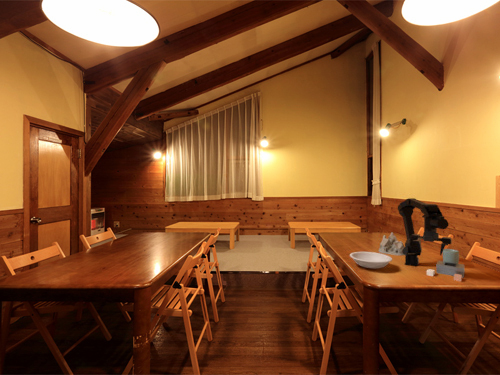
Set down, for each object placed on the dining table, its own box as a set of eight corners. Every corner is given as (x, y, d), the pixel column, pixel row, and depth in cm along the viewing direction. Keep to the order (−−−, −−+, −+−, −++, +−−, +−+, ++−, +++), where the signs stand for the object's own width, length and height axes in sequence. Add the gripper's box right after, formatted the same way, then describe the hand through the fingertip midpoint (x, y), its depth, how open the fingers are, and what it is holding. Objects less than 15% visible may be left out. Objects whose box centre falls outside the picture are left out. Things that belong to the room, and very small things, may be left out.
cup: (440, 265, 160) (440, 249, 160) (447, 263, 164) (447, 248, 164) (454, 269, 153) (453, 252, 153) (461, 267, 156) (461, 251, 156)
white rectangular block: (426, 275, 144) (426, 271, 144) (428, 273, 147) (428, 268, 147) (433, 276, 142) (433, 272, 142) (434, 274, 145) (434, 270, 145)
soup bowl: (350, 271, 152) (350, 260, 152) (349, 260, 175) (349, 250, 175) (396, 275, 144) (395, 263, 144) (388, 263, 166) (388, 253, 166)
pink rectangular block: (453, 280, 136) (453, 275, 136) (455, 278, 139) (454, 273, 139) (461, 282, 133) (461, 277, 133) (462, 279, 137) (462, 274, 137)
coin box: (436, 272, 147) (436, 264, 147) (438, 268, 154) (438, 260, 154) (463, 277, 139) (463, 268, 139) (464, 273, 146) (464, 264, 146)
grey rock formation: (375, 250, 200) (377, 231, 199) (397, 250, 200) (398, 231, 199) (385, 256, 185) (387, 236, 184) (408, 257, 184) (410, 237, 183)
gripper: (408, 226, 145) (408, 254, 145) (449, 230, 132) (450, 260, 132) (412, 224, 153) (412, 250, 153) (451, 227, 140) (452, 255, 140)
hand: (430, 253), depth 144 cm, fingers open, 9 cm apart
